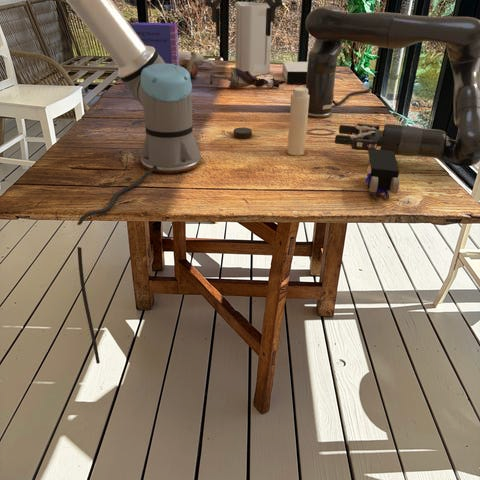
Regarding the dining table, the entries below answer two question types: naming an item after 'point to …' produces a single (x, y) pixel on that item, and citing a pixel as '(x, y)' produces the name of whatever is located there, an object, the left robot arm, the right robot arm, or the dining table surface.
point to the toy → (198, 60)
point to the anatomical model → (190, 65)
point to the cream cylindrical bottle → (298, 121)
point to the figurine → (246, 79)
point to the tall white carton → (252, 38)
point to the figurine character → (382, 172)
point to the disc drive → (295, 72)
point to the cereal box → (160, 39)
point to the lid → (242, 133)
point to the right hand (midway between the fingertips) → (337, 133)
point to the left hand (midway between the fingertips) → (243, 35)
